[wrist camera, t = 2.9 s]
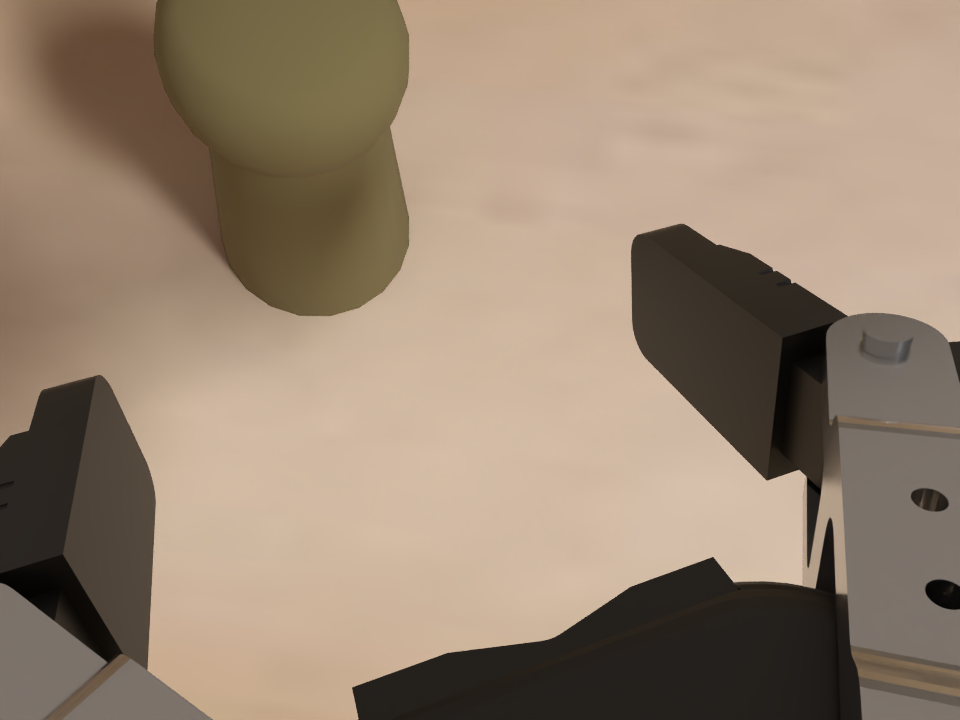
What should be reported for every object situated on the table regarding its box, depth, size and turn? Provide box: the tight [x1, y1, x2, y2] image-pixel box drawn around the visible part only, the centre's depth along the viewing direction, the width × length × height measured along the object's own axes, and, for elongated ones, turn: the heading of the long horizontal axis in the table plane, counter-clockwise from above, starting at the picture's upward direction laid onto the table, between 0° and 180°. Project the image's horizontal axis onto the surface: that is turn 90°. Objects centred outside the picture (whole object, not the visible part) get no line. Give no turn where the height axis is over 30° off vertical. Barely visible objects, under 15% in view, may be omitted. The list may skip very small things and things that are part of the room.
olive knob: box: [154, 0, 409, 316], centre depth 20 cm, size 6×6×11 cm
